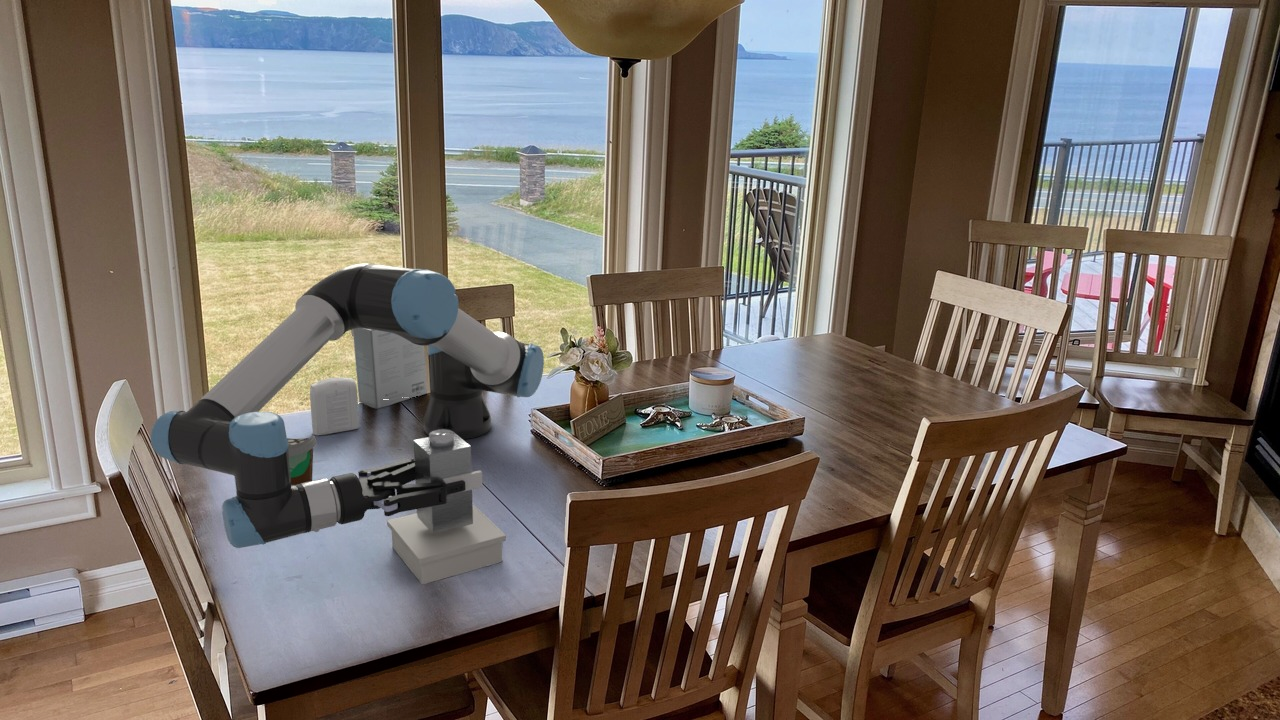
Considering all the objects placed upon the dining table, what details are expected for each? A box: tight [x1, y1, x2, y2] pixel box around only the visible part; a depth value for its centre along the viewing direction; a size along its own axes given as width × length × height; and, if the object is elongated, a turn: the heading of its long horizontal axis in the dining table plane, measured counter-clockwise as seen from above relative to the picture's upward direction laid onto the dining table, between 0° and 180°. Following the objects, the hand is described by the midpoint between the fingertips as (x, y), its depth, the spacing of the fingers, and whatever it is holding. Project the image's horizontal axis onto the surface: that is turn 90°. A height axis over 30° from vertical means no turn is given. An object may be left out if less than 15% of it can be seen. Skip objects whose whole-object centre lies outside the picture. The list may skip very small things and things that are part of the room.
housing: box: [413, 429, 473, 534], centre depth 151 cm, size 7×7×16 cm
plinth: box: [386, 502, 507, 585], centre depth 154 cm, size 15×15×5 cm
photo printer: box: [309, 376, 360, 436], centre depth 204 cm, size 10×4×12 cm, turn 123°
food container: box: [287, 433, 318, 486], centre depth 175 cm, size 12×6×10 cm, turn 105°
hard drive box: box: [352, 328, 428, 410], centre depth 223 cm, size 16×8×20 cm, turn 141°
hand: (471, 470), depth 153 cm, fingers closed on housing, 7 cm apart
